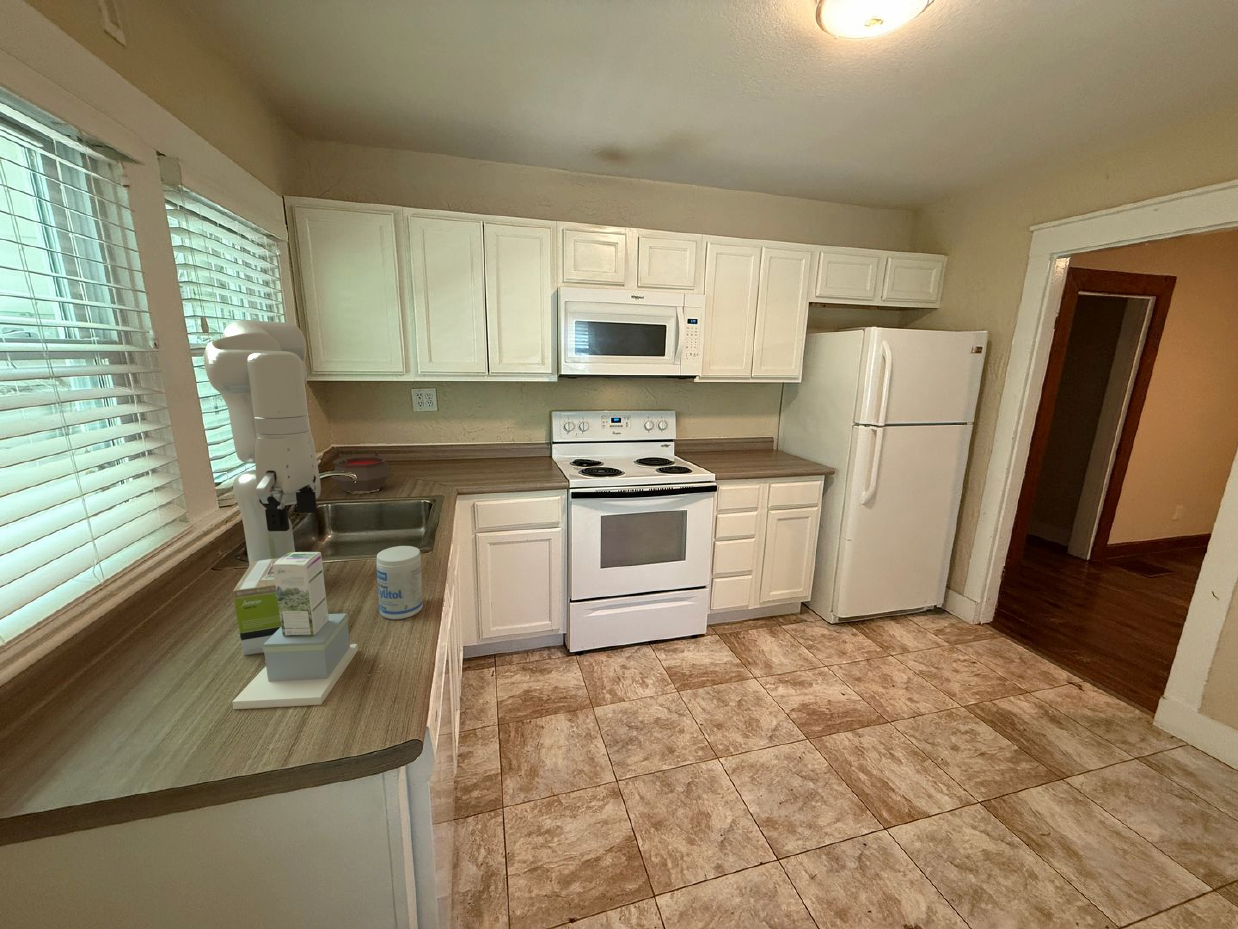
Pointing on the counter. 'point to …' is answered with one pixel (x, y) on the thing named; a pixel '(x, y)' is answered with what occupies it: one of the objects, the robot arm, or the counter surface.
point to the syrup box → (301, 593)
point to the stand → (300, 667)
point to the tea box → (257, 606)
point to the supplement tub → (399, 582)
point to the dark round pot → (362, 472)
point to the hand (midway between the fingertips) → (294, 521)
